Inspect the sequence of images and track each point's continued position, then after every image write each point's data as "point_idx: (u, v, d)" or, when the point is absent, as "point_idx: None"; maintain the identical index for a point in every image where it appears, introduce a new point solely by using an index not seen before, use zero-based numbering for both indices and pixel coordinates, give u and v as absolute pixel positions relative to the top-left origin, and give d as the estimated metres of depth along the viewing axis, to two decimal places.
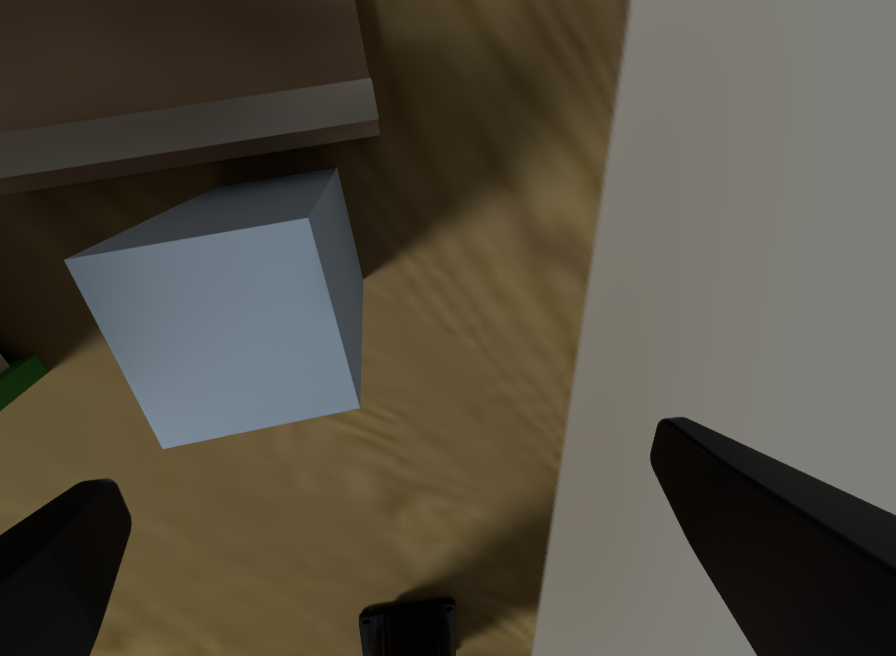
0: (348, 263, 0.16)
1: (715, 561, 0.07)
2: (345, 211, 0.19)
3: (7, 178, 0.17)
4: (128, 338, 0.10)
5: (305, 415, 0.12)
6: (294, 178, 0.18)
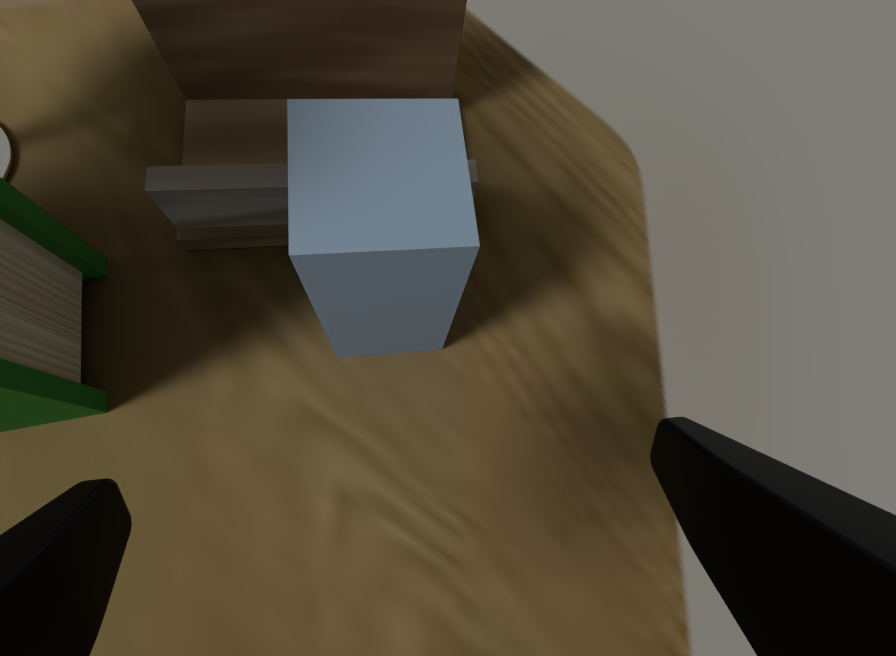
0: None
1: (715, 561, 0.07)
2: None
3: (186, 229, 0.22)
4: (305, 154, 0.13)
5: (428, 243, 0.12)
6: None
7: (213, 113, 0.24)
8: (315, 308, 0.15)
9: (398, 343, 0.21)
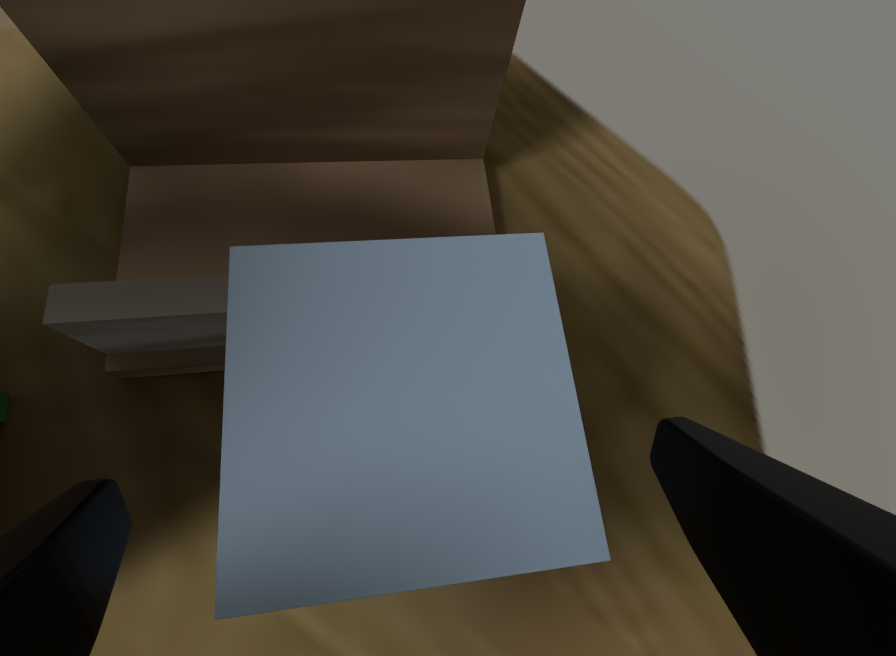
0: None
1: (715, 561, 0.07)
2: None
3: (120, 355, 0.16)
4: (259, 365, 0.07)
5: (508, 563, 0.06)
6: None
7: (166, 185, 0.18)
8: None
9: None
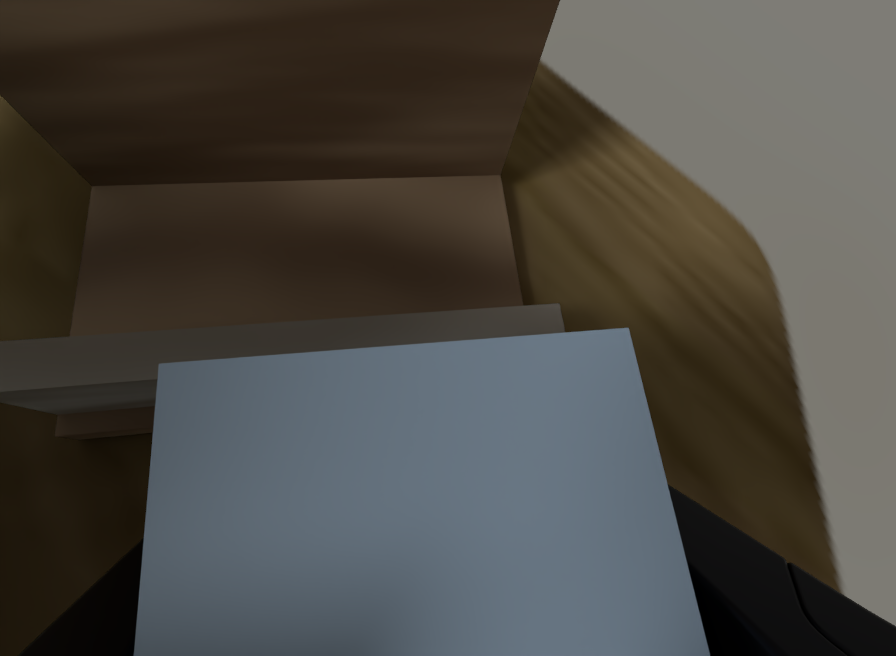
0: None
1: None
2: None
3: (74, 415, 0.13)
4: (198, 570, 0.04)
5: None
6: None
7: (133, 208, 0.15)
8: None
9: None
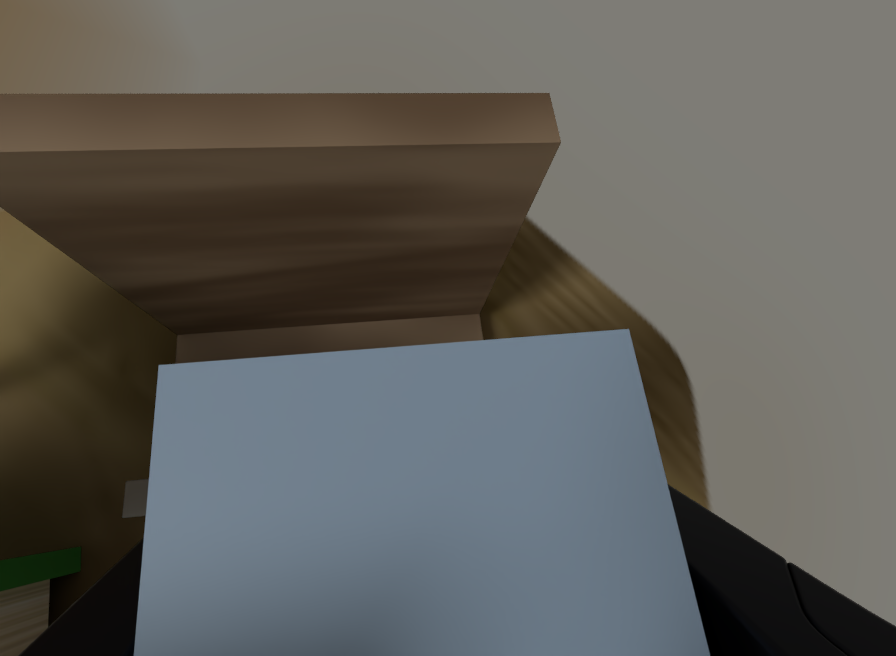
0: None
1: None
2: None
3: None
4: (198, 573, 0.04)
5: None
6: None
7: (208, 352, 0.21)
8: None
9: None
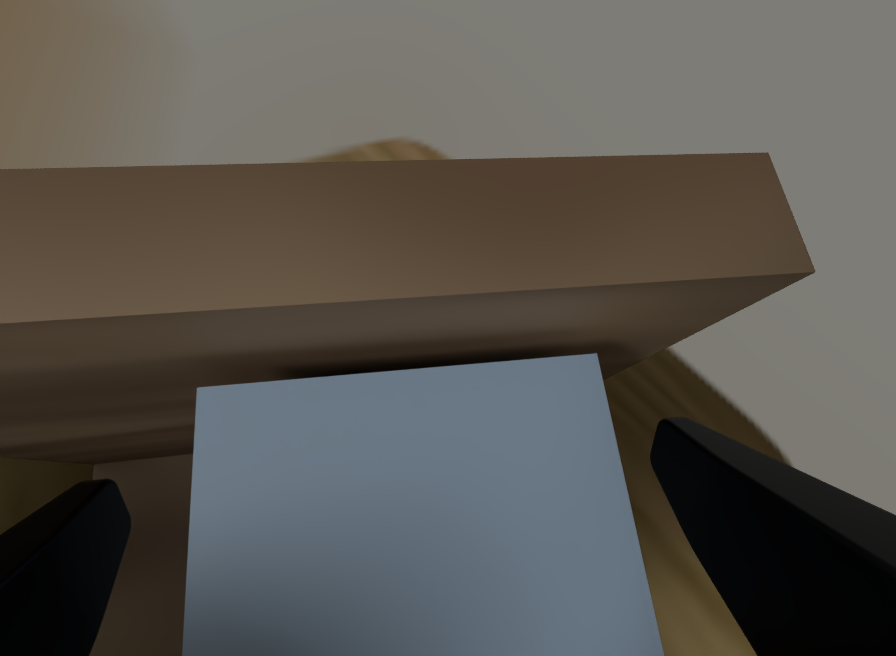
0: None
1: (715, 561, 0.07)
2: None
3: None
4: (234, 561, 0.05)
5: None
6: None
7: (138, 489, 0.14)
8: None
9: None
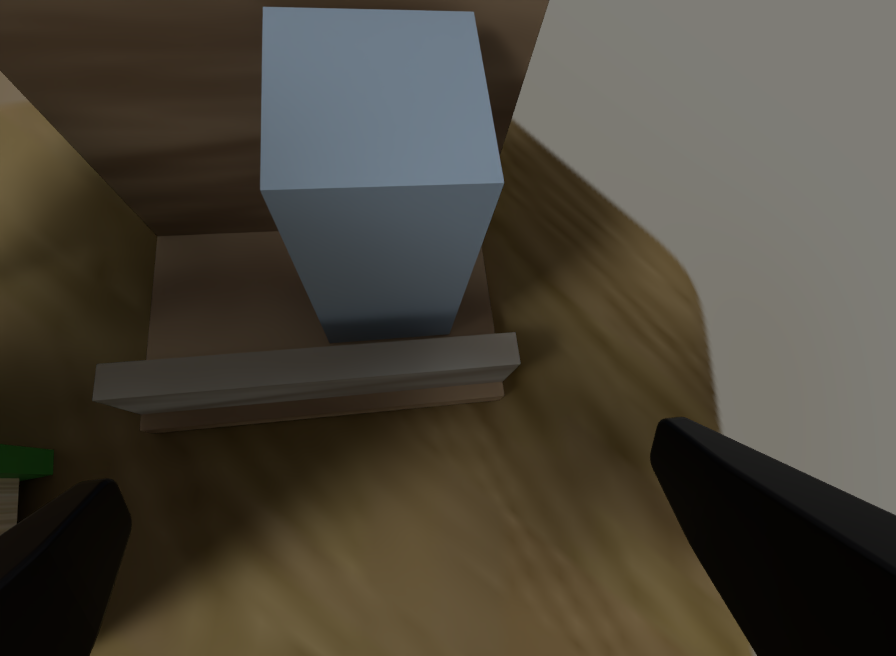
0: None
1: (715, 561, 0.07)
2: None
3: (153, 415, 0.17)
4: (283, 70, 0.10)
5: (439, 179, 0.10)
6: None
7: (190, 253, 0.20)
8: (300, 274, 0.13)
9: (400, 325, 0.18)
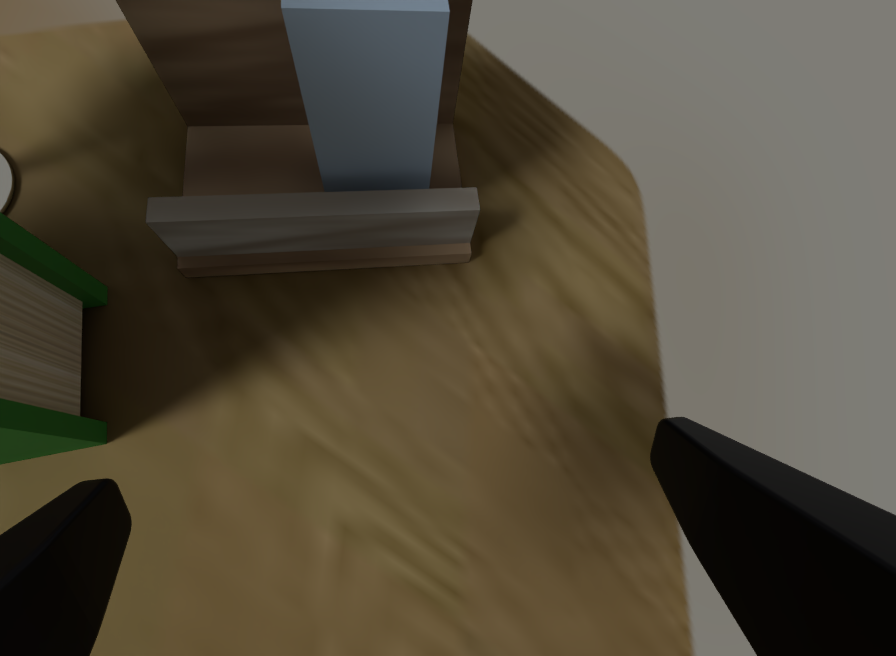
0: None
1: (715, 561, 0.07)
2: None
3: (187, 258, 0.22)
4: None
5: (404, 7, 0.14)
6: None
7: (214, 140, 0.24)
8: (306, 109, 0.17)
9: (385, 188, 0.22)
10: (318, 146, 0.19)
